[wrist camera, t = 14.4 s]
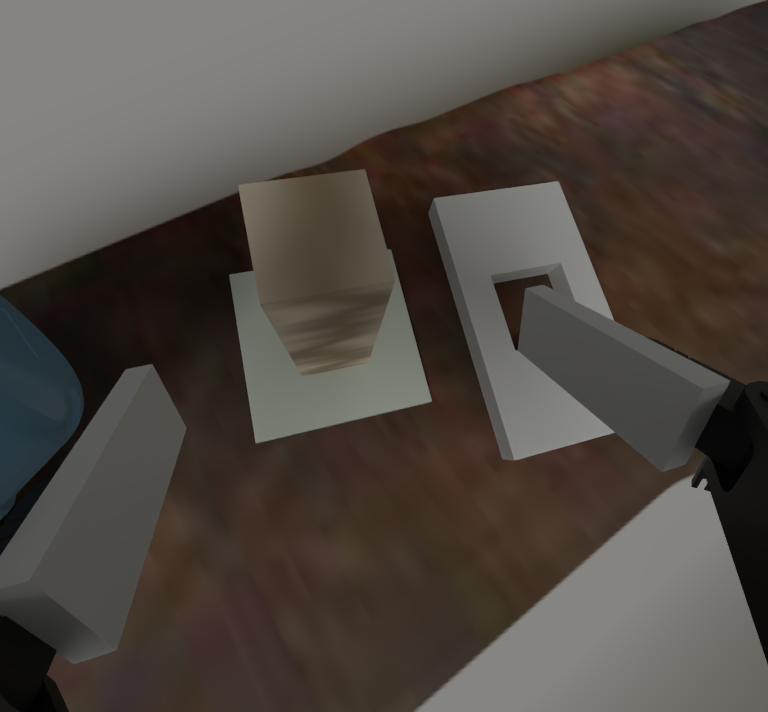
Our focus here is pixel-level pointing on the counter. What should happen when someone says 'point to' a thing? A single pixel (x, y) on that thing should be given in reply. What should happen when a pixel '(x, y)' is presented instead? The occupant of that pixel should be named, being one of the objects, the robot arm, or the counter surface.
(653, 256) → the counter surface
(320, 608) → the counter surface
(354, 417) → the tile
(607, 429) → the plate with hole
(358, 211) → the peg
